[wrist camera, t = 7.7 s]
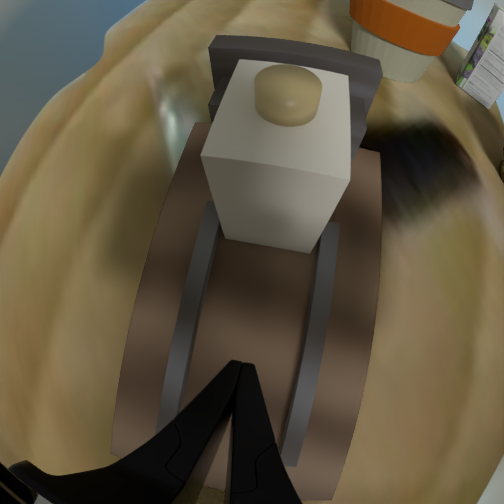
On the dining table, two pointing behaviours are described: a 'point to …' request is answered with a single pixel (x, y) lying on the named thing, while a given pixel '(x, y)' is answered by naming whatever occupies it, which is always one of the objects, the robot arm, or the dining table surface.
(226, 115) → the white block with knob
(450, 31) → the reusable coffee cup
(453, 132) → the dining table surface
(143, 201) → the dining table surface
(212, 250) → the brown board with frame
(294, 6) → the dining table surface
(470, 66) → the syrup box
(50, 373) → the dining table surface
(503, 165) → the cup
